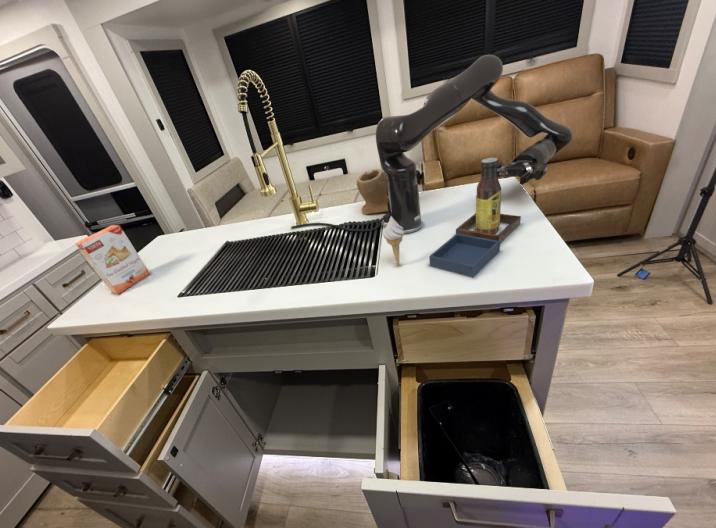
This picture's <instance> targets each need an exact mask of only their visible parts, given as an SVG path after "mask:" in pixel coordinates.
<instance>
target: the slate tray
mask: <svg viewBox="0 0 716 528" xmlns="http://www.w3.org/2000/svg"><path fill="white" fill-rule="evenodd" d="M500 252H501V243H500V241H496V240H490V239H484V238H479V237H473V236H468V235H462V234H456V233H455V234H454V235H453V236H451V238H449V239H448V240H447V241H446V242H444V243H443V244H442V245H441V246H440V247H438V248H437V249H435V251H434V252H432V253H431V254H429V256H428V259H429V267H432V268H435V269H439V270H443V271H447V272H450V273H453V274H454V273H455V274H459V275H461V276H466V277H469V278H474V277H475V276H477V274H479V272H481V271H482V270H483V269H484V268H485V267H486V266H487V265H488V264H489V263H490V262H491V261H492V260H493V259H494V258H495V257H496V256H497V255H498V254H499V253H500Z"/></svg>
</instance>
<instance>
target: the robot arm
mask: <svg viewBox="0 0 716 528" xmlns="http://www.w3.org/2000/svg"><path fill="white" fill-rule="evenodd" d="M503 72H504V65H503V62H502V60H501V59H500V58H499V56H496V55H494V54H485V55H484V54H483V55H482V56H480V57H479V58H478V59H476V60H475V61H474V62H473V63H472V64H471V65H469V67H468V68H466V69H465V70H463V71H462V72H460V73H459V74H457V75H456V76H454V77H452V78H451V79H450V80H448V81H446V82H445V83H443V84H441V85H440V86H438V87H436V88H435V89H434V90H432V91H431V92H430V93H429V94H428V95H427V96H426V98H425V100H424V102H423V106H422V107H421V108H419V109H417V110H416V111H414V112H411V113H409V114H404V115H403V114H402V115H389V116H385V117H383V118H381V119H380V121H379V122H378V123H377V126H376V129H375V144H376V149H377V153H378V158H379V165H380V168H381V170H382V171H383V172H384V174H385V178H386V184H387V196H388V197H389V201H388V202H387V207H388V211H387V212H386V213H384V214H383V215H382V217H381V218H380V219H379V221H378V224H377V225H376V226H375V227H372V228H366V229H364V228H361V229H360V228H350V227H349V228H348V227H345V226H341V225H338V224H334V223H327V222H310V223H309V222H308V223H302V224H297V225H292V226H290V228H291V229H296V228H302V227H307V226H328V227H333V228H337V229H340V230H341V229H342V230H344V231H347V232H359V233H361V232H365V233H366V232H370V231H376V230H377V229H379V228H380V227H381V226H382V222H383V224H384V223H385V224H388V222H389V220H390V217H391V216H392V218H393V219H394V220H395V221H396V222H397V223H398V224H399V226H401V227H402V228H404V229H403V231H404V235H406V234H411V233H414V232H417V231H419V230H420V229H421V228H422V227H423V221H422V214H421V211H422V210H421V201H420V193H419V191H420V190H419V184H418V183H419V182H418V173H417V165H416V162H415V161H414V160H412V159H410V158H409V157H407V155H405V153H407V152H410V151H412V150H413V149H415V147H417V146H418V145H419V144H420V143H421V142H422V141H423V140H424V139H425V138H426V137H427V136H428V135H429V134H430V133H431V132H433V131H434V130H436V129H437V128H439V127H440V126H441V125H442V124H444V123H446V122H447V121H448V120H450V119H451V118H453V117H454V116H456V115H457V114H458V113H459V112H460V111H462V109H463V108H464V107H466V105H467V104H468V103H469V102H470V101H471V100H473V101H475V102H477V103H478V104H480V106H483V107H485V108H486V109H487V110H490V111H491V112H493V113H495V114H496V115H498V116H500V117H501V118H502V119H505V120H506V121H508V123H510V124H511V125H513V126H514V128H516V129H517V130H518V131H520V133H522V134H523V135H524V136H525V137H526V138H528V139H532V138H534V137H536V136H537V135H539V134H542V133H543V134H546V135H544V137H542V138H541V139H540V140H537V141H536V142H535V143H533V144H532V145H530V146H528V147H526V148H525V149H523V150H522V151H521V152H519V153H518V154H516V156H515V157H514V158H513V160H512V161H511V162H510V163H508V164H504V162H498V165H497V177H498V179H501V178H502V179H507V178H510V177H518V178H519V185H521V186H523V185H525V184H527V183H528V182H529V181H530V182H531V181H532V180H533V179H534V180H535V181H539V180H541V179H542V178H543V177H544V176H545V175H546V174H547V169H548V162H550V160H552V158H554V157H555V156H556V155H558V154H559V153H560V152H561V151H562V150H564V149H565V148H566V147H567V146H569V145H570V144H571V143H572V141H573V139H574V134H573V131H572V129H571V128H570V127H568V126H567V125H564V124H563V123H560V122H557V121H555V120H553V119H550V118H549V117H547V116H545V115H544V114H543V113H541V112H540V111H539V110H538V109H537V108H536V107H535V106H533V105H532V104H531V103H529V102H526V101H523V100H516V99H510V98H505V97H502V96H499V95H497V94H496V93H494V92H493V91H492V89H493V88H494V87H495V85H496V84H497V83H498V82H499V80H500V79H501V77H502V74H503Z"/></svg>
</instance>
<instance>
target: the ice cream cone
mask: <svg viewBox="0 0 716 528" xmlns="http://www.w3.org/2000/svg"><path fill="white" fill-rule="evenodd" d="M403 229H404V228H402V227H401V226H399V224H398V223H397V222H396V221H395V220H394V219H393V218H392V216H391V217H390V220H389V222H388V223H386V225H385V228H384V230H383V231H382V235H383V238H384V239H385V240H386V243H387V244H388V245H390V246H391V248H392V253H393V256H394V260H395V264H396V266H397V267H399V266H400V244H401V243H402V241H403V239H404V238H403V237H404V235H405V234H404V231H403Z"/></svg>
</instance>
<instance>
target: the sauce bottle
mask: <svg viewBox="0 0 716 528" xmlns="http://www.w3.org/2000/svg"><path fill="white" fill-rule="evenodd" d="M498 163H499V159H498V157H487V158H484V159H482V160H481V161H480V168H481V175H480V177H481V179H480V180H479V181H478V183H477V185H476V195H475V213H476V223H475V227H476V228H475V231H477V232H483V233H489V234H496V233H498V232H499V230H500V229H499V228H500V225H501V223H500V214H501V207H502V186H501V183H500V180H499V178H498V177H497V165H498Z"/></svg>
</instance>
